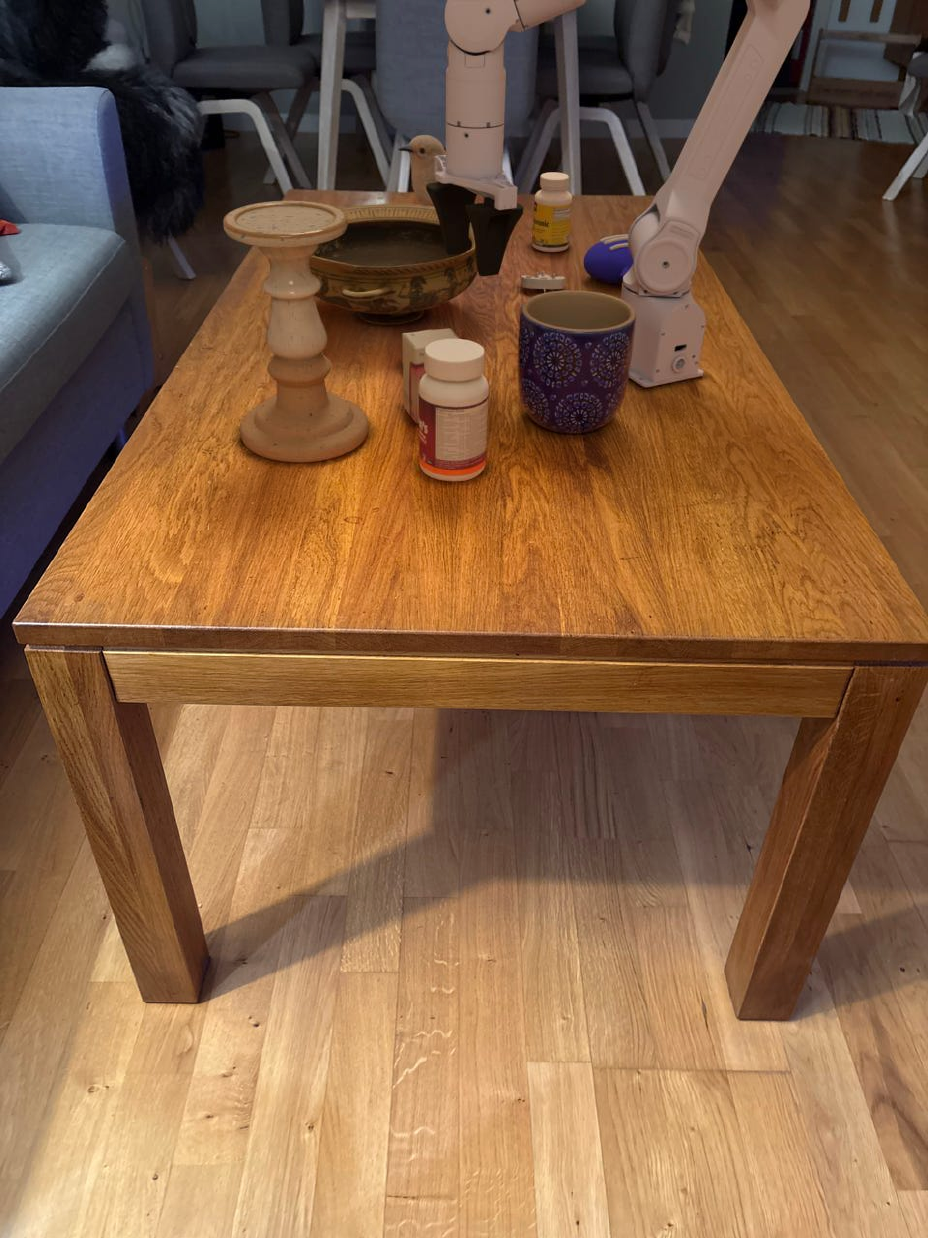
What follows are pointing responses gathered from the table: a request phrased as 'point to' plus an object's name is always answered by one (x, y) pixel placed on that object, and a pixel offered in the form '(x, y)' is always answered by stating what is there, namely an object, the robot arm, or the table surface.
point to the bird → (423, 164)
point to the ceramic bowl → (391, 264)
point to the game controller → (542, 281)
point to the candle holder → (296, 337)
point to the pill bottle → (453, 410)
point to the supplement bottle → (552, 213)
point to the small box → (417, 364)
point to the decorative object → (609, 259)
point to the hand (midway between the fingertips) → (471, 263)
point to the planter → (574, 358)
